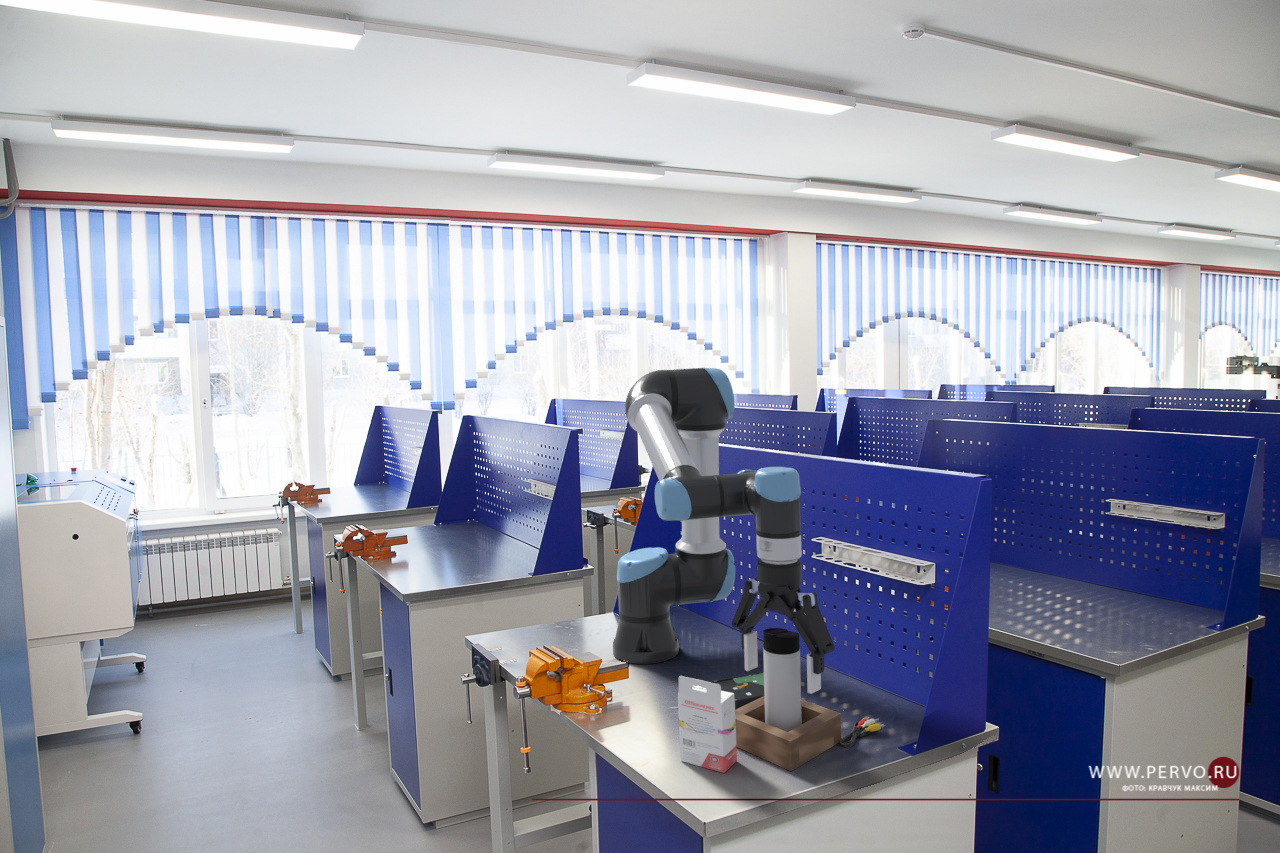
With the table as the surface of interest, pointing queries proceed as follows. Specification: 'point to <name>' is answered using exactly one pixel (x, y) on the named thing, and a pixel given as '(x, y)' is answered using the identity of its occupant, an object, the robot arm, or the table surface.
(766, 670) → the travel mug
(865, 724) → the composite cable
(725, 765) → the ink cartridge box
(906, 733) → the table surface
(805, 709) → the mug holder
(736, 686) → the disk drive
